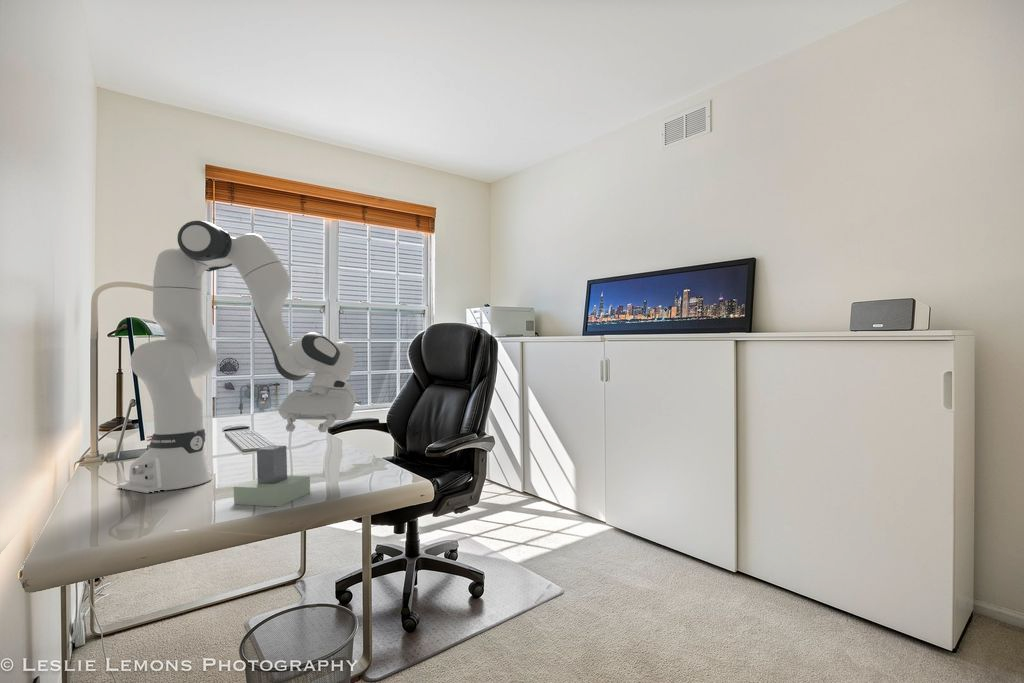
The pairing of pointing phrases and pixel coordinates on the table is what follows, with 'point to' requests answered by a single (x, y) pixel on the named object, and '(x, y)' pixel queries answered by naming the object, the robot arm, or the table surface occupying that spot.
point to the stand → (271, 491)
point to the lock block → (271, 464)
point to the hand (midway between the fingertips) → (305, 430)
